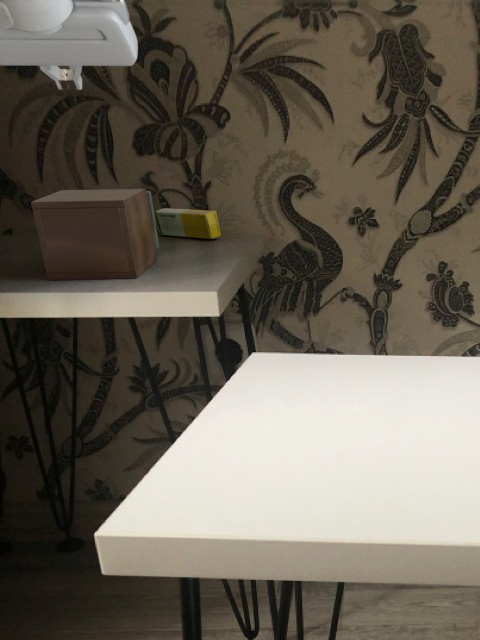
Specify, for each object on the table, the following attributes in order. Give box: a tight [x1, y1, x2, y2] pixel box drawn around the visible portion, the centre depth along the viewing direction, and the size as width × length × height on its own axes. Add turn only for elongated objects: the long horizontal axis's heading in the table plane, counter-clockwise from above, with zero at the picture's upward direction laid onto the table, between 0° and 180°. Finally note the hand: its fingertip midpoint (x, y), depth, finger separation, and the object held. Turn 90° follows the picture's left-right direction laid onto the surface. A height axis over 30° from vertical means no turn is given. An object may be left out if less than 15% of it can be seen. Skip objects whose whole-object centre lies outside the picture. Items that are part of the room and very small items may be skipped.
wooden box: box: [30, 188, 158, 281], centre depth 125 cm, size 14×12×10 cm
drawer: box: [146, 190, 160, 250], centre depth 133 cm, size 18×10×8 cm, turn 5°
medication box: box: [154, 207, 222, 240], centre depth 151 cm, size 12×3×4 cm, turn 59°
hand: (71, 85), depth 120 cm, fingers closed
